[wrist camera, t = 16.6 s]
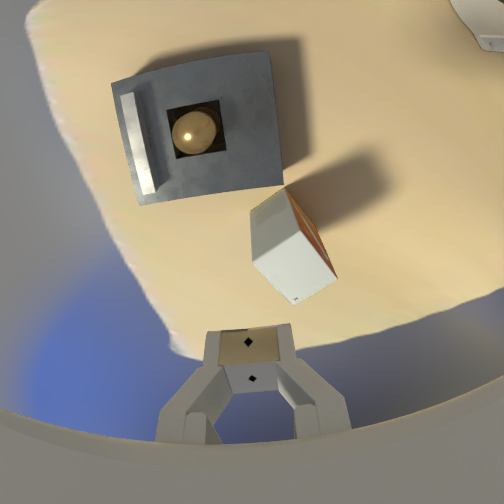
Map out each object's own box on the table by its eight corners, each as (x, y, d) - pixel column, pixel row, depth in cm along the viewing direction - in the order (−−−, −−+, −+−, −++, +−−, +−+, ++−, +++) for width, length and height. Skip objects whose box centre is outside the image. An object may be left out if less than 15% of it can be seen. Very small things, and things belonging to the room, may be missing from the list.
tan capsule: (217, 104, 34) (210, 109, 27) (222, 137, 36) (217, 150, 29) (183, 110, 34) (168, 117, 27) (189, 142, 36) (176, 157, 29)
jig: (265, 54, 30) (270, 48, 24) (279, 172, 39) (285, 190, 33) (126, 82, 31) (103, 83, 25) (150, 191, 40) (134, 212, 34)
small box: (316, 226, 43) (339, 280, 32) (281, 249, 45) (293, 308, 34) (284, 184, 40) (301, 229, 29) (248, 211, 42) (249, 263, 31)
